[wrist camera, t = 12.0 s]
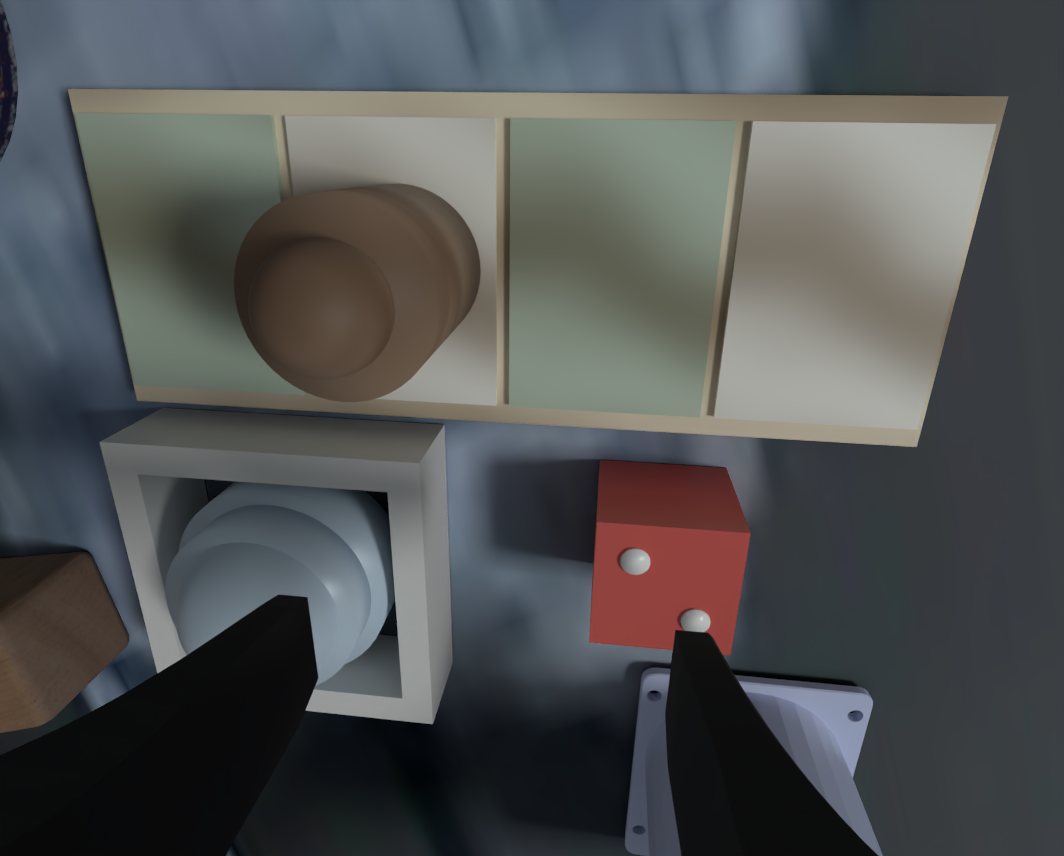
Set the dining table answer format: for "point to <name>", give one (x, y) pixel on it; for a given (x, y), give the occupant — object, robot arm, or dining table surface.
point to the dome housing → (315, 461)
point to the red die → (666, 554)
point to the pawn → (355, 287)
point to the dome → (286, 565)
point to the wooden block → (52, 634)
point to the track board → (573, 247)
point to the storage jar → (7, 83)
